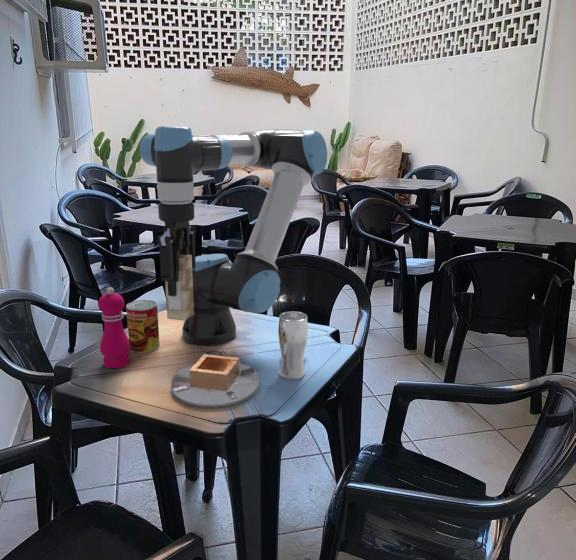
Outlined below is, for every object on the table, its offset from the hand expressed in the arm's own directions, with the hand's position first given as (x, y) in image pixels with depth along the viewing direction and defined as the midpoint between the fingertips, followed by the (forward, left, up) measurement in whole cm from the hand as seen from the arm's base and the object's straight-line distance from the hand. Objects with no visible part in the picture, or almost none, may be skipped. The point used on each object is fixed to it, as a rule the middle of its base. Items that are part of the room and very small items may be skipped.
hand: (180, 305), depth 119 cm
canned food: (-15, -18, -19) cm, 30 cm away
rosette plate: (+1, +8, -19) cm, 20 cm away
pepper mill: (-4, -20, -19) cm, 28 cm away
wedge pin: (0, 0, -3) cm, 3 cm away
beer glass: (-9, +24, -19) cm, 32 cm away
